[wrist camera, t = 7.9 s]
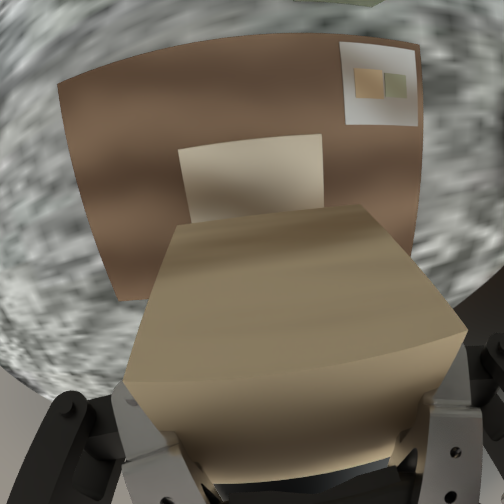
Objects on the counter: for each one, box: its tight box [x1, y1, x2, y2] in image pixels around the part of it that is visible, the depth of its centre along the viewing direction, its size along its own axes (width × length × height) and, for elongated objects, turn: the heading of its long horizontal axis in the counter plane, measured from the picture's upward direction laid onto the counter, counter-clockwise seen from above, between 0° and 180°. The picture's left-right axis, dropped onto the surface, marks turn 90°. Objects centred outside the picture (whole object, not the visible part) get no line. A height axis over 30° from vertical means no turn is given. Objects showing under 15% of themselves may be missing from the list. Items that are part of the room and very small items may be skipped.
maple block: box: [123, 204, 468, 484], centre depth 8 cm, size 6×6×6 cm
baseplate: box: [57, 33, 423, 301], centre depth 17 cm, size 16×22×1 cm
